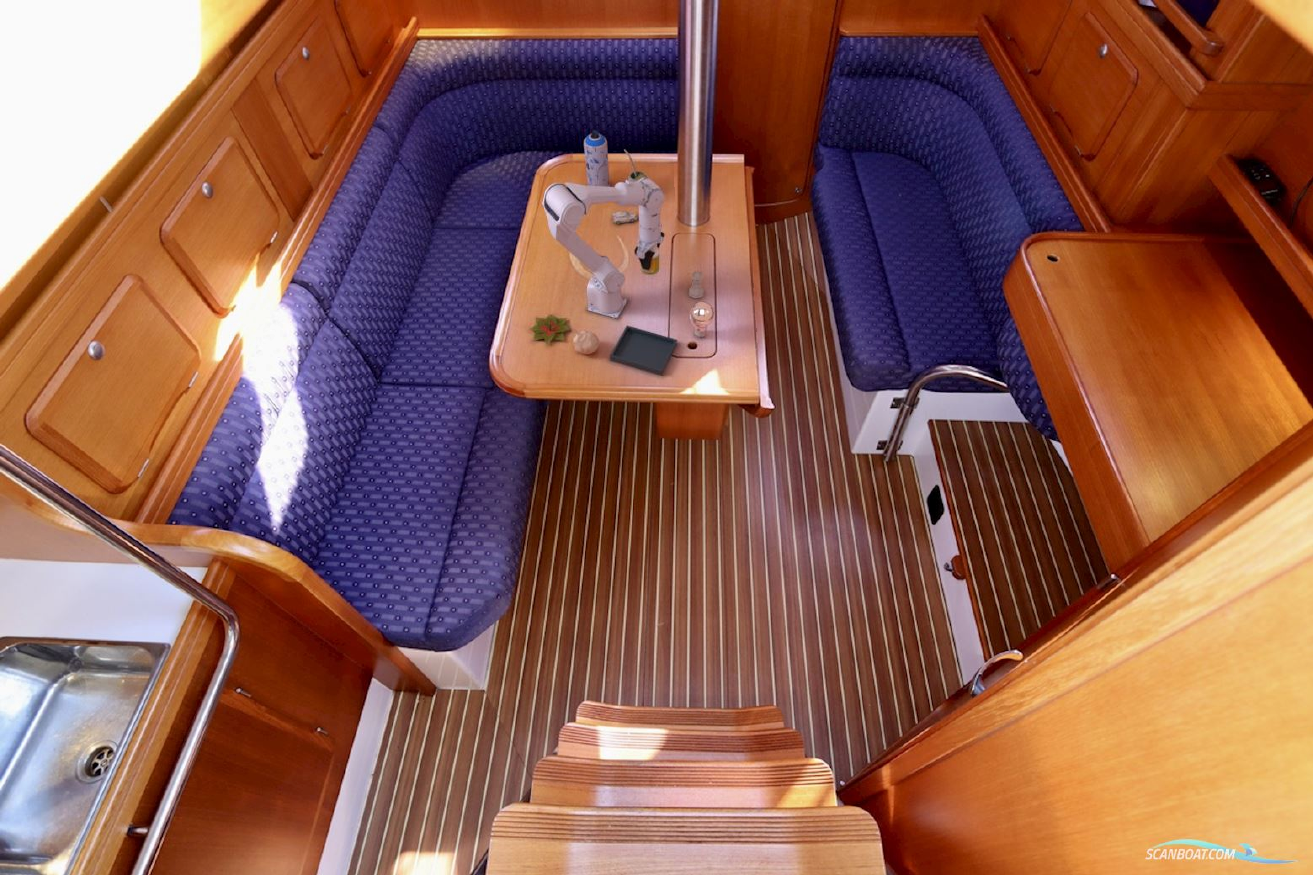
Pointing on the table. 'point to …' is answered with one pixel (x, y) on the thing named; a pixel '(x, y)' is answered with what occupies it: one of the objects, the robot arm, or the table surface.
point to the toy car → (624, 217)
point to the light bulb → (701, 317)
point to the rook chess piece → (696, 285)
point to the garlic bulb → (585, 342)
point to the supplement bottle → (653, 263)
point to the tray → (643, 350)
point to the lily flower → (549, 328)
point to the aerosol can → (596, 159)
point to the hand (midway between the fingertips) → (649, 262)
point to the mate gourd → (635, 175)
